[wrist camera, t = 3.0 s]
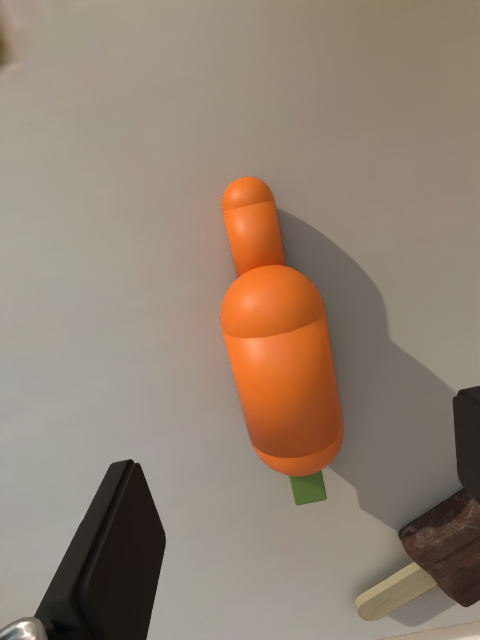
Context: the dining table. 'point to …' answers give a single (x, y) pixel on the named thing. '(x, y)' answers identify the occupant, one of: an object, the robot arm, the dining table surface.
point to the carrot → (278, 346)
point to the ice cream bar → (433, 559)
